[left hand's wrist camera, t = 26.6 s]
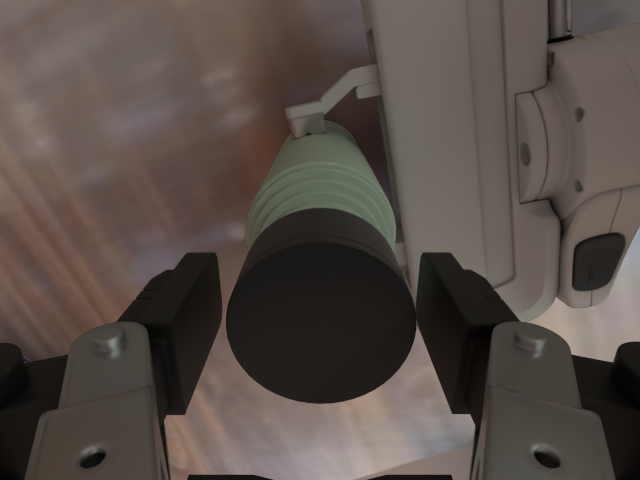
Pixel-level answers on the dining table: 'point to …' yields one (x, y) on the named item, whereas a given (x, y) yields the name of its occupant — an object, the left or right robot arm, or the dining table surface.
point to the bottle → (321, 183)
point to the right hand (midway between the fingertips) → (303, 187)
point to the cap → (321, 308)
